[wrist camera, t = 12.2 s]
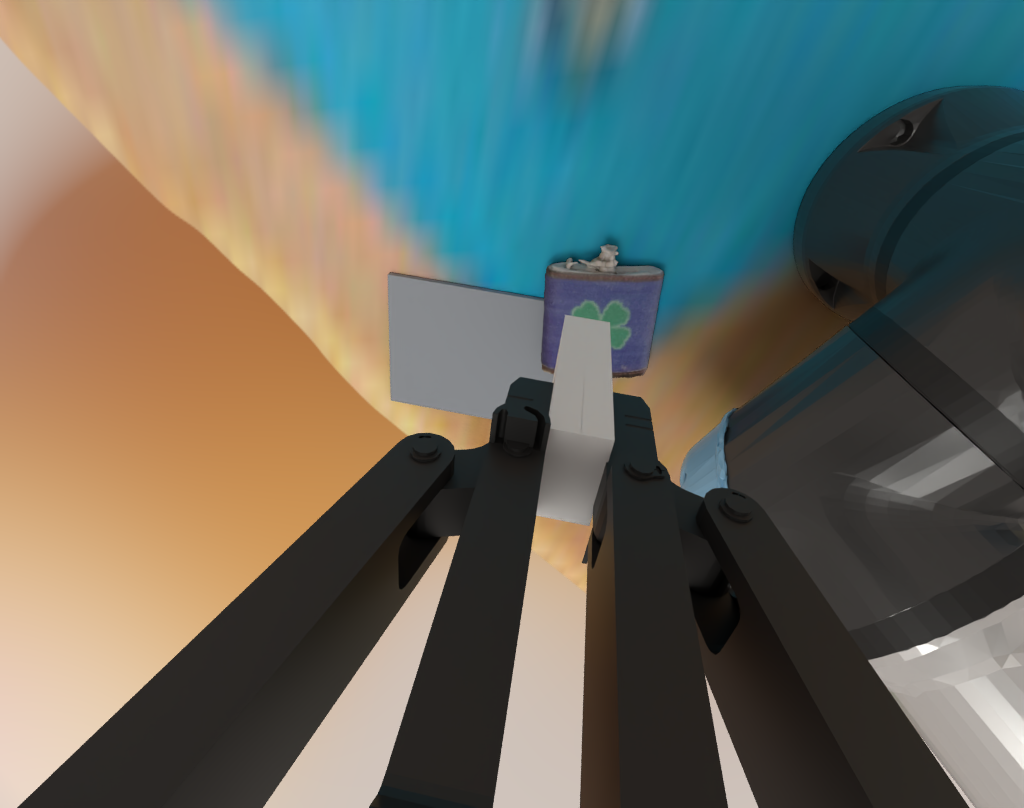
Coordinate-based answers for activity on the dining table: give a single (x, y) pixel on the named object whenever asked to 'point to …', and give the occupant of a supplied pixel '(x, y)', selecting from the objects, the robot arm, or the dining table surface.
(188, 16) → the dining table surface
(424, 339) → the mat
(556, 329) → the flask
